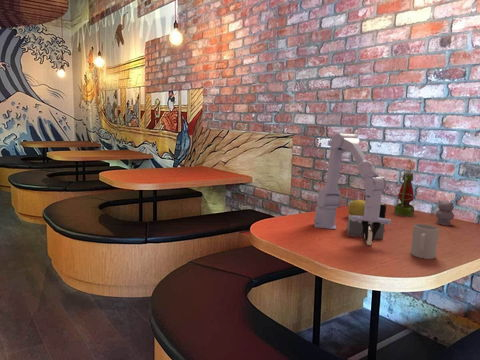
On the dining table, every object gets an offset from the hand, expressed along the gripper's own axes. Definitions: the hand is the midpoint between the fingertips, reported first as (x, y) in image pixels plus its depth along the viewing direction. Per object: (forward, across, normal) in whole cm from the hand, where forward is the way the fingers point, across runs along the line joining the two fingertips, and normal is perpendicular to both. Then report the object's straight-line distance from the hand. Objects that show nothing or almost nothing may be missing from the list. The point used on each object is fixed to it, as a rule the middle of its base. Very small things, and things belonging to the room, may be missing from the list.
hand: (368, 240), depth 156 cm
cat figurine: (+2, +43, +53) cm, 69 cm away
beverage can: (+2, +7, +29) cm, 30 cm away
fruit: (+2, 0, +46) cm, 46 cm away
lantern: (+2, +27, +69) cm, 75 cm away
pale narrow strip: (+2, 0, +4) cm, 4 cm away
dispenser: (+2, 0, +15) cm, 15 cm away
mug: (+2, +18, -9) cm, 20 cm away
